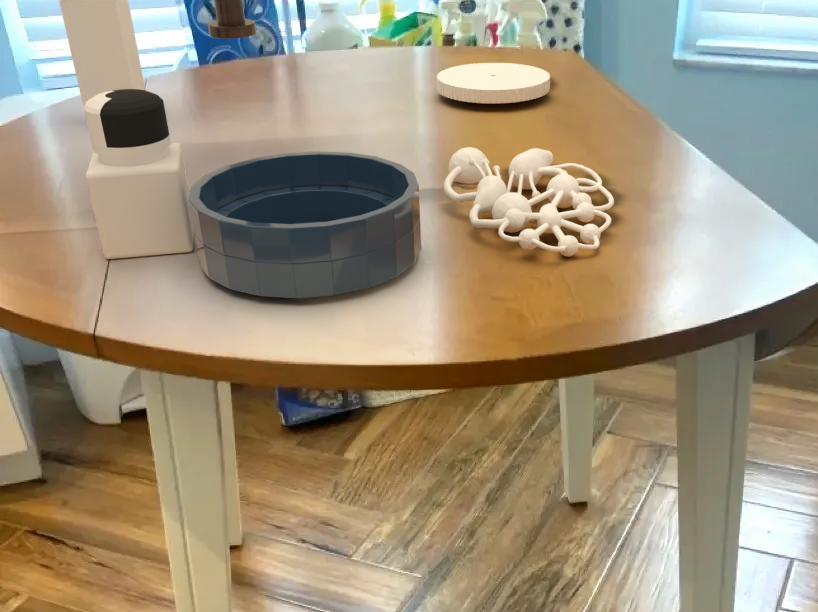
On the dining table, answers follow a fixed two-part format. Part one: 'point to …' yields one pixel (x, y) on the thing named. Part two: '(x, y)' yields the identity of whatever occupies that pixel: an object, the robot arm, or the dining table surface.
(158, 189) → the medicine bottle
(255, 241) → the bowl
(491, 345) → the dining table surface
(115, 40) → the milk
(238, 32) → the stick
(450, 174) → the tangled rod sculpture
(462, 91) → the plastic lid
